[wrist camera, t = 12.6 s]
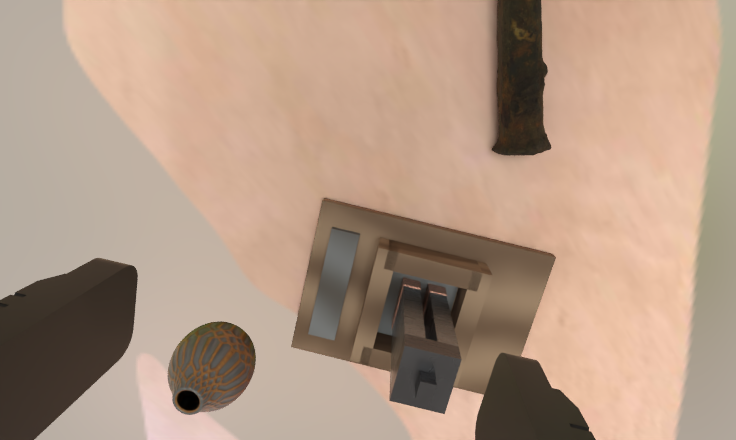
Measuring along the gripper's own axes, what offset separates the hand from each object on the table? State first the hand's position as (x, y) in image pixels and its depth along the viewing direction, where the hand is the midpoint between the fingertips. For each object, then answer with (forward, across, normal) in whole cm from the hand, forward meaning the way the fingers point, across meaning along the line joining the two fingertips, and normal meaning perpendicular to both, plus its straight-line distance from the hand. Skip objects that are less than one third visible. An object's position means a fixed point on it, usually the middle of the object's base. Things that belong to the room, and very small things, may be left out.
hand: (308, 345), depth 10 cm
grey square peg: (+29, -6, +11) cm, 31 cm away
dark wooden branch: (+31, -7, -12) cm, 34 cm away
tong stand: (+30, -6, +12) cm, 33 cm away
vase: (+30, +10, +20) cm, 37 cm away
